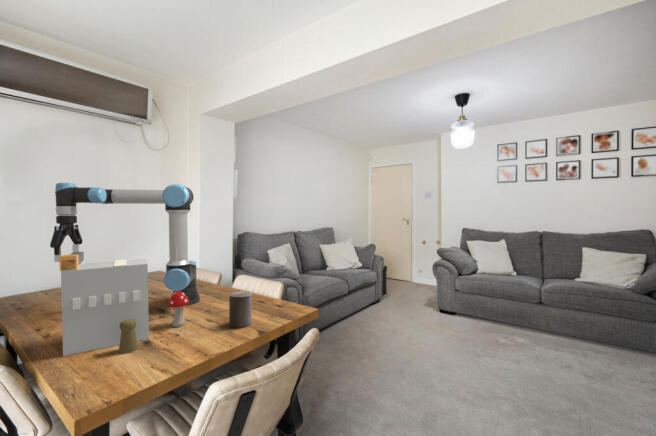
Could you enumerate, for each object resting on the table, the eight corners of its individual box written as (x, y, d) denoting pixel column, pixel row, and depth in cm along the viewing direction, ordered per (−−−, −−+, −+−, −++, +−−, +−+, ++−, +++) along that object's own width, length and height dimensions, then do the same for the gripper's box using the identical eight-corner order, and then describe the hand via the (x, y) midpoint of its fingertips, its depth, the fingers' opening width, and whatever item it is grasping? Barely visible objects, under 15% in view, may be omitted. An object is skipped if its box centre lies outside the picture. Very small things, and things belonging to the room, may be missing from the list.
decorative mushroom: (169, 322, 138) (168, 289, 137) (189, 319, 141) (189, 287, 141) (166, 330, 129) (166, 295, 128) (189, 327, 132) (188, 293, 132)
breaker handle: (71, 260, 127) (71, 249, 127) (85, 259, 129) (85, 248, 129) (59, 270, 105) (59, 256, 105) (76, 269, 108) (76, 255, 107)
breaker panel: (70, 340, 119) (68, 264, 119) (146, 326, 134) (145, 258, 133) (62, 357, 105) (60, 270, 105) (149, 339, 120) (147, 263, 119)
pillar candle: (231, 329, 129) (231, 295, 128) (227, 322, 137) (227, 289, 137) (254, 326, 133) (254, 292, 133) (249, 319, 142) (249, 287, 142)
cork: (124, 346, 113) (124, 317, 113) (141, 345, 114) (141, 316, 114) (114, 354, 107) (114, 323, 107) (132, 353, 108) (132, 322, 108)
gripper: (73, 215, 155) (74, 256, 156) (38, 215, 131) (39, 264, 132) (90, 214, 157) (91, 255, 158) (58, 215, 133) (59, 263, 133)
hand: (67, 259), depth 145 cm, fingers open, 13 cm apart
